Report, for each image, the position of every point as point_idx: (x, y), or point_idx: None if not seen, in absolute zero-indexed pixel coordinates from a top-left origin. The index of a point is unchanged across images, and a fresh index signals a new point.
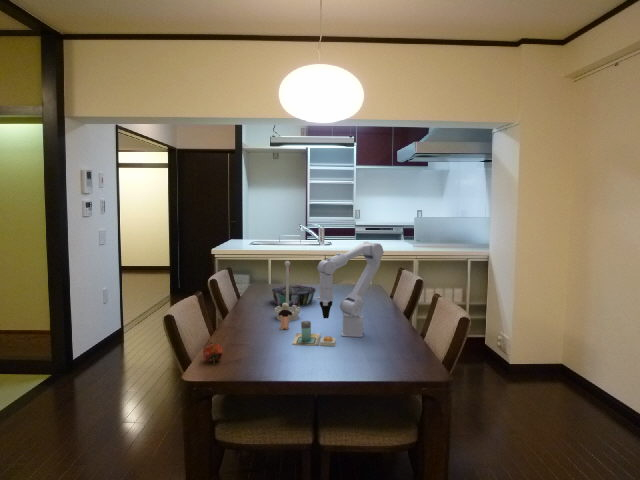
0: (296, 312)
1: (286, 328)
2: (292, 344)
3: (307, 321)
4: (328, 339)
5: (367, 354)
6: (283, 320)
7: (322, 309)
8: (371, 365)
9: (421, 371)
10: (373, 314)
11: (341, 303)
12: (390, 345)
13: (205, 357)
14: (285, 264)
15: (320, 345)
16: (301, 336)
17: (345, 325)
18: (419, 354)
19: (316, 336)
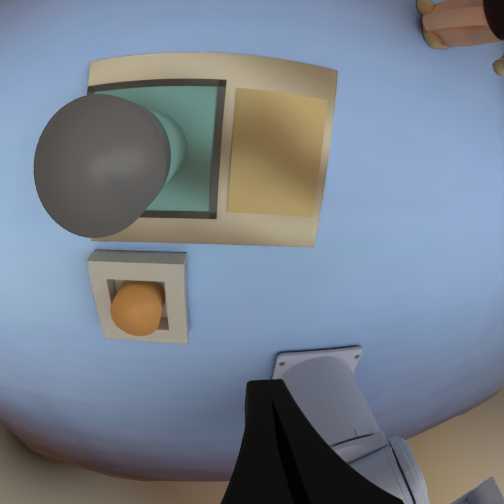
0: None
1: (428, 30)
2: (94, 63)
3: (127, 186)
4: (112, 314)
5: (74, 405)
6: (465, 9)
7: (230, 480)
8: (10, 390)
9: (42, 445)
10: (472, 383)
11: (414, 478)
12: (181, 453)
13: None
14: None
15: (95, 251)
16: (250, 102)
17: (301, 408)
18: (132, 470)
19: (257, 219)
